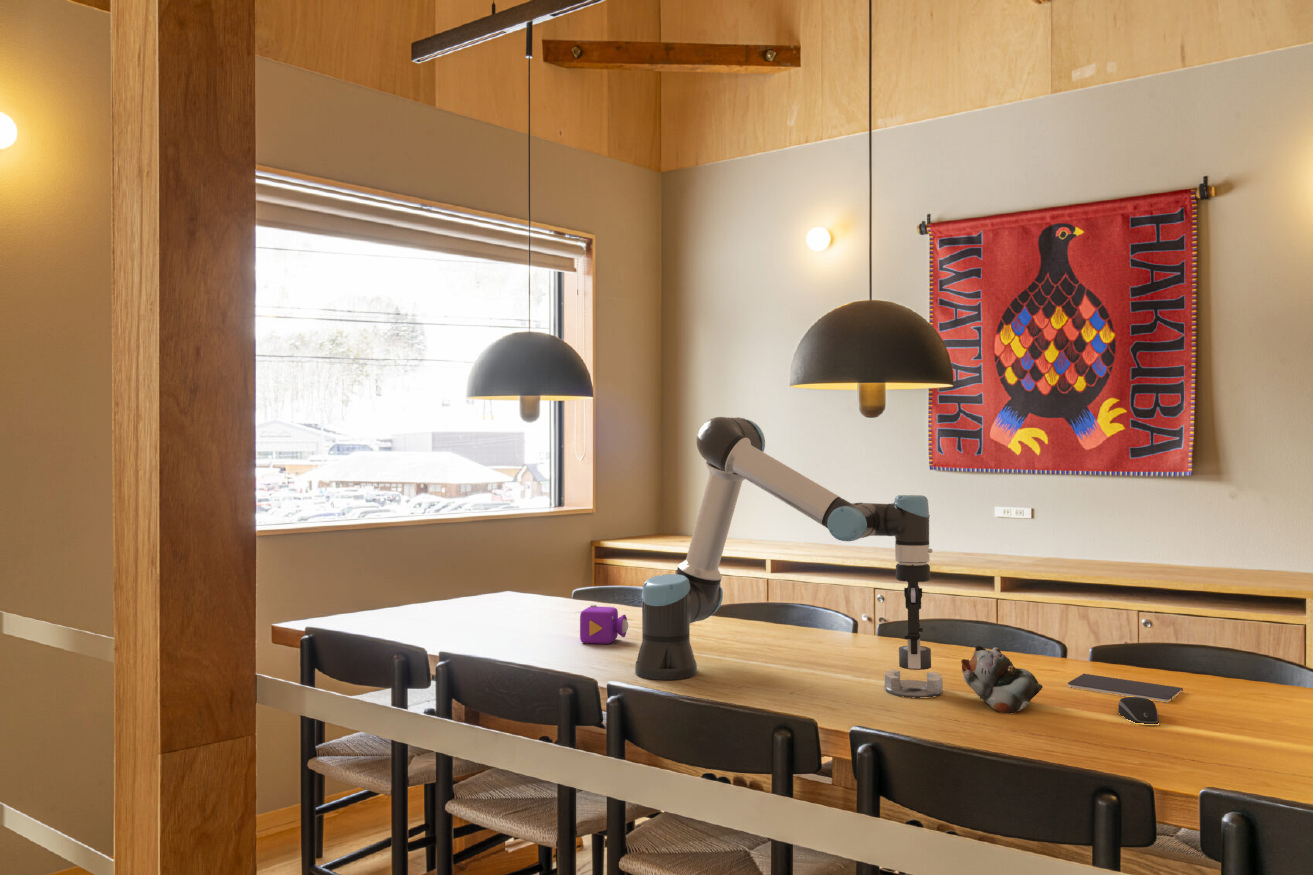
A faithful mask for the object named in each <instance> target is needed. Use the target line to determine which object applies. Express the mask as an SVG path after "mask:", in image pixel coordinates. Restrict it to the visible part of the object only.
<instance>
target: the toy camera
mask: <svg viewBox="0 0 1313 875" xmlns="http://www.w3.org/2000/svg"><path fill="white" fill-rule="evenodd" d="M628 629H629V622H628V618H627V615H626V614H622V615H621V616H619V611H618V608H616V607H614V606H597V604H590V606H589V607H586V608H585V609H583V610H581V612H580V616H579V639H580V642H581V643H583V644H595V645H597V644H598V645H609V644H611V643H613V642H614V641H615V640H616V639H617V638H618V635H619V636H621V637H622V638H625V637H626V635H627V632H628Z"/></svg>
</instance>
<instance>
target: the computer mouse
mask: <svg viewBox="0 0 1313 875" xmlns="http://www.w3.org/2000/svg"><path fill="white" fill-rule="evenodd" d="M1117 706H1118V710H1117V711H1118V712H1119V713H1120V715H1121V716H1124V717H1125V718H1126V719H1128V720H1131V721H1133V722H1135V723H1144V724H1158V723H1159V721H1160V719H1159V713H1158V710H1157V709H1158V708H1157V707H1156V703H1155V702H1154V701H1151V700H1149V699H1146V698H1141V697H1123V698H1120V700H1119V702H1118V705H1117ZM1119 713H1118V714H1119ZM1120 715H1119V716H1120ZM1121 716H1120V717H1121Z"/></svg>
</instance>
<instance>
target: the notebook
mask: <svg viewBox="0 0 1313 875" xmlns="http://www.w3.org/2000/svg"><path fill="white" fill-rule="evenodd" d="M1067 684H1068V688H1069V687H1073V688H1078V689H1087V690H1091V691H1096V692H1095V693H1097V692H1103V693H1102V694H1104V693H1112V694H1118V695H1124V696H1134V697H1141V698H1146V699H1154V700H1159V701H1164V702H1168V701H1170V699H1171V700H1172V698H1173V697H1175V696H1176V695H1177V694H1178V693H1180V692H1181V691H1183V692H1184V690H1183V687H1179V686H1172V685H1165V684H1158V683H1151V682H1144V681H1137V680H1130V679H1124V678H1117V677H1112V676H1111V677H1110V676H1103V675H1098V674H1097V675H1095V674H1090V673H1082V674H1080V675H1079V676H1077V677H1075V678H1074V679H1072V680H1070V681H1068V682H1067ZM1078 689H1077V690H1078ZM1091 691H1090V692H1091ZM1181 693H1182V692H1181ZM1181 693H1180V694H1181ZM1175 698H1176V697H1175ZM1172 701H1173V700H1172Z"/></svg>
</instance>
